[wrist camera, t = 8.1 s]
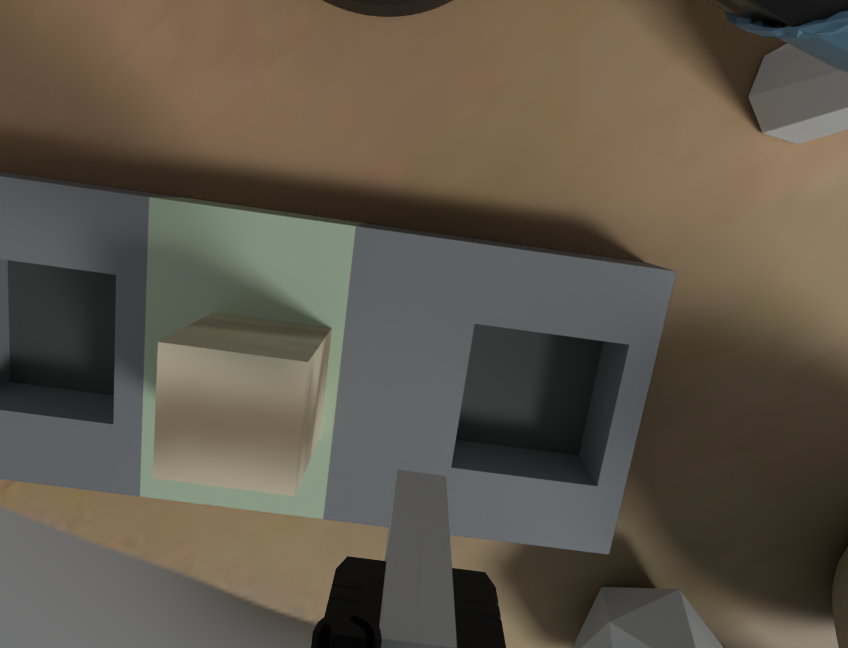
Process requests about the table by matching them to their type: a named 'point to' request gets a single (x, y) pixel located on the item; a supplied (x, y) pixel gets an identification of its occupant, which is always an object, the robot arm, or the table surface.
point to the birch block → (240, 402)
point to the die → (644, 621)
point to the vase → (841, 600)
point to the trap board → (331, 356)
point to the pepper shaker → (799, 96)
